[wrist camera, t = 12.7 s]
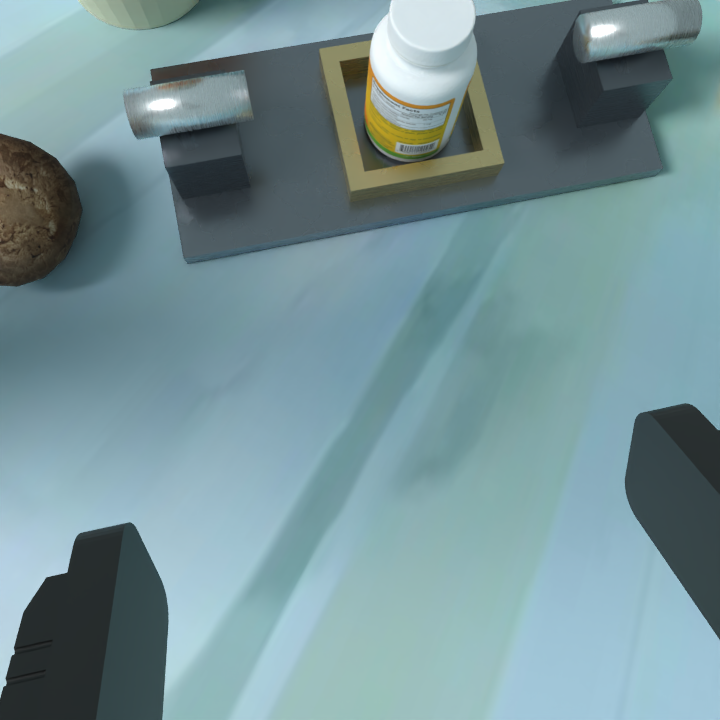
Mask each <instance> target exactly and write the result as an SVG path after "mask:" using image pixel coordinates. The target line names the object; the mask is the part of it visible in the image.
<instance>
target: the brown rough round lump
mask: <svg viewBox="0 0 720 720" xmlns="http://www.w3.org/2000/svg"><path fill="white" fill-rule="evenodd" d="M81 214H82V206H81V203H80V199H79V195H78V192H77V188H76V184H75V182H74V180H73V179H72V178H71V177H70V175H69V174H68V173H67V171H66V170H65V169H64V168H63V166H62V165H61V164H60V163H59V161H58V160H57V159H56V158H55V157H53V156H52V155H50V154H49V153H47V152H45V151H44V150H42V149H41V148H39V147H37V146H36V145H34V144H33V143H31V142H29V141H25V140H21V139H18V138H14V137H11V136H7V135H3V134H0V286H20V285H23V284H26V283H30V282H33V281H36V280H39V279H42V278H45V277H46V276H47V275H48V274H49V273H50V272H51V271H52V270H53V269H54V268H55V267H56V266H57V265H58V264H59V263H61V262H62V261H63V260H64V259H65V257H66V255H67V253H68V251H69V249H70V247H71V245H72V243H73V241H74V239H75V237H76V234H77V230H78V226H79V222H80V218H81Z"/></svg>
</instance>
